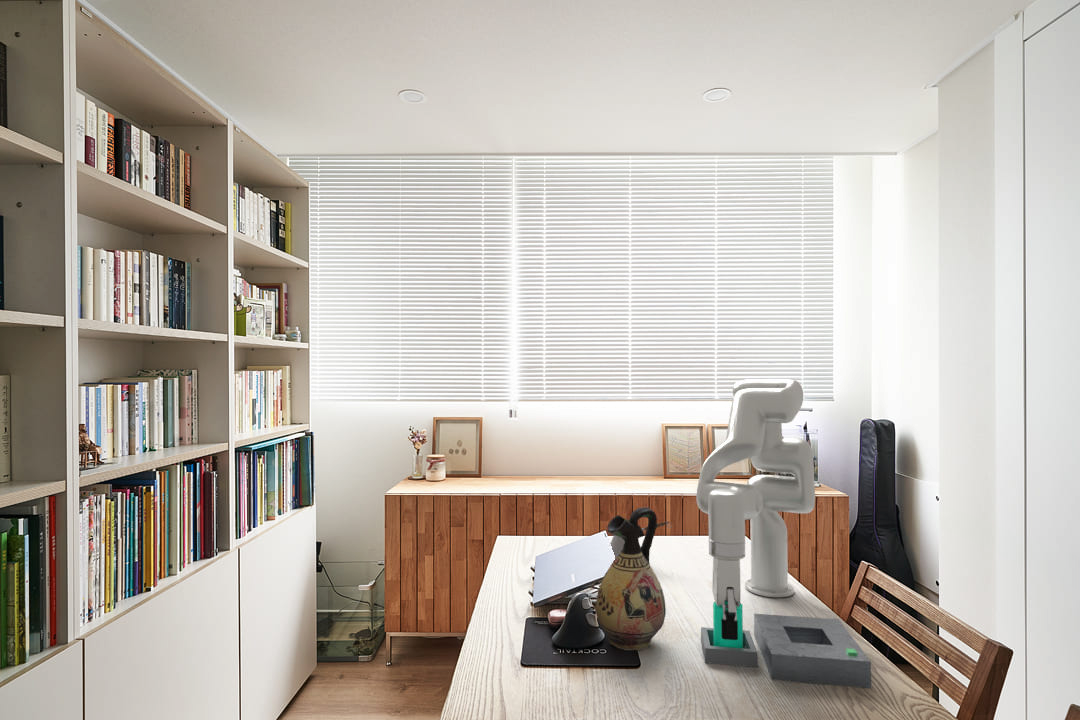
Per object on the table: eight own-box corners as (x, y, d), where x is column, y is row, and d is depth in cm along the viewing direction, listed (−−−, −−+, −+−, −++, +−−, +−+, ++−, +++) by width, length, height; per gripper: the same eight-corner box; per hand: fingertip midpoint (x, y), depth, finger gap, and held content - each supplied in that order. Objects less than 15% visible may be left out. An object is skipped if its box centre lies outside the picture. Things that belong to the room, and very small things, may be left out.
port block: (754, 635, 136) (754, 611, 136) (838, 641, 133) (838, 616, 133) (771, 679, 117) (771, 651, 117) (871, 688, 113) (870, 659, 113)
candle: (743, 649, 130) (742, 593, 130) (743, 661, 124) (742, 603, 124) (714, 645, 132) (713, 590, 132) (713, 657, 126) (712, 600, 126)
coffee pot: (600, 563, 189) (600, 515, 190) (618, 554, 198) (617, 509, 199) (662, 576, 176) (662, 525, 177) (678, 566, 186) (677, 517, 186)
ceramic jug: (620, 665, 123) (619, 518, 123) (583, 635, 137) (583, 504, 137) (686, 648, 130) (685, 510, 131) (645, 622, 144) (644, 497, 145)
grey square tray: (701, 640, 134) (700, 627, 134) (749, 644, 132) (749, 630, 132) (705, 662, 124) (705, 648, 124) (757, 667, 122) (757, 652, 122)
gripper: (705, 536, 137) (706, 615, 137) (712, 559, 121) (713, 649, 120) (739, 537, 136) (740, 617, 136) (751, 561, 119) (752, 652, 119)
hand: (727, 631), depth 128 cm, fingers closed on candle, 5 cm apart
